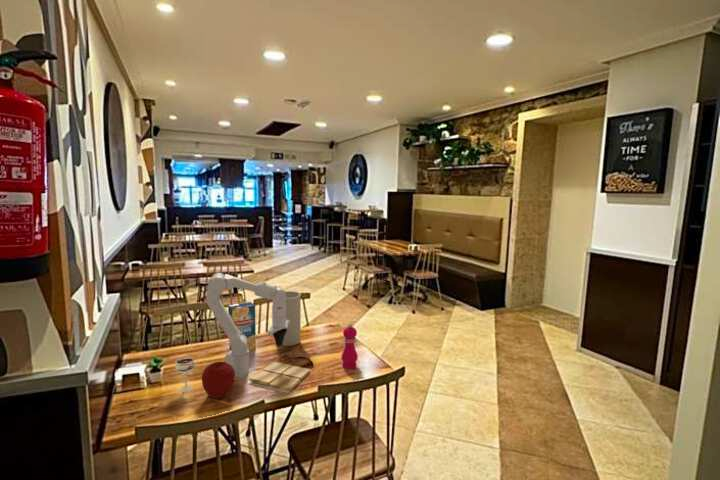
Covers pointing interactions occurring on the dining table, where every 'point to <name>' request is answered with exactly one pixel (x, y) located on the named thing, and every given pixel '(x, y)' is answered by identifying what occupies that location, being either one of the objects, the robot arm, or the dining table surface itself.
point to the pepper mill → (349, 348)
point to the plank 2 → (284, 382)
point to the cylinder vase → (293, 318)
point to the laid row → (287, 370)
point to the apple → (218, 379)
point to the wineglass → (185, 370)
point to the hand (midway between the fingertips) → (279, 345)
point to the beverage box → (244, 321)
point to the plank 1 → (264, 377)
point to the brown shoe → (299, 358)
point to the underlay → (268, 386)
